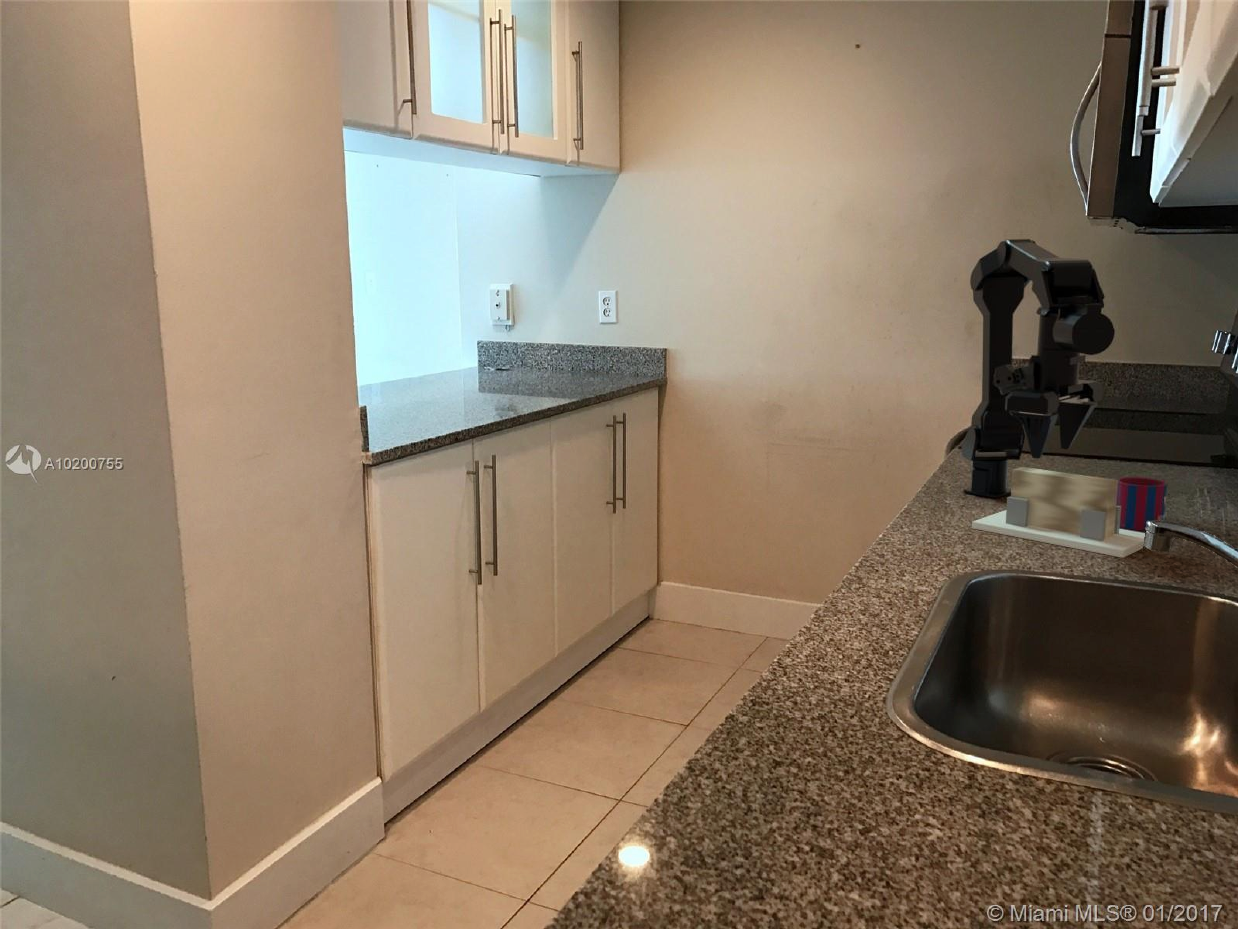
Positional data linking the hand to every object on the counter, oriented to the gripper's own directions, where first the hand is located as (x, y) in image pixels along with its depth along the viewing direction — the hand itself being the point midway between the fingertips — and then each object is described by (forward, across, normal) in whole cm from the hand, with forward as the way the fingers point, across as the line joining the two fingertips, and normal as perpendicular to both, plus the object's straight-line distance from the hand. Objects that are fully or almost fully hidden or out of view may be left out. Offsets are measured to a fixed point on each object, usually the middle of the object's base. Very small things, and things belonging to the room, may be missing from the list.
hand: (1050, 453), depth 142 cm
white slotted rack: (+11, +2, +3) cm, 12 cm away
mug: (+12, -11, +7) cm, 18 cm away
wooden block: (+10, +2, +3) cm, 11 cm away
